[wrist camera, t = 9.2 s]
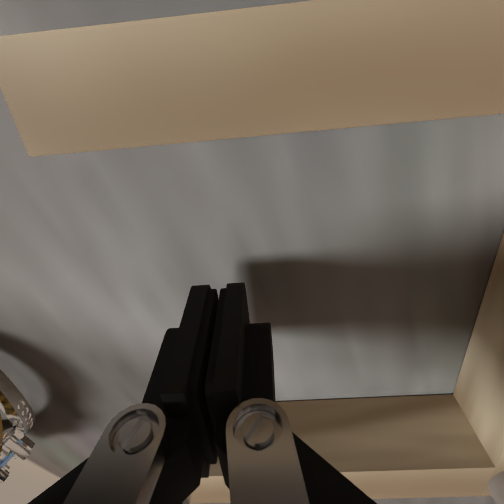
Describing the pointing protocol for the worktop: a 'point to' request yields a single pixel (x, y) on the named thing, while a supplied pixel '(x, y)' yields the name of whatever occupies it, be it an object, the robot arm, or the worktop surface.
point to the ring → (14, 425)
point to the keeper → (290, 121)
